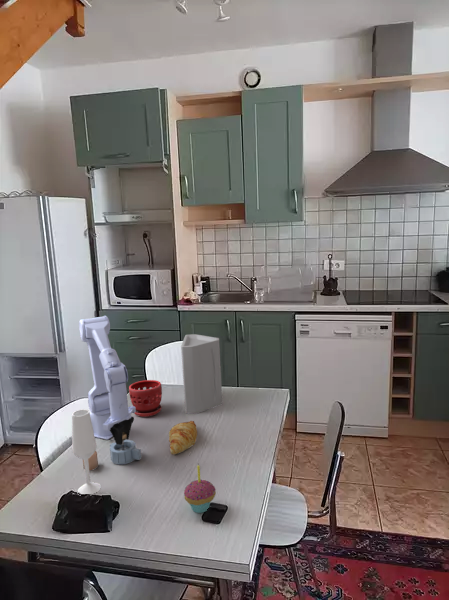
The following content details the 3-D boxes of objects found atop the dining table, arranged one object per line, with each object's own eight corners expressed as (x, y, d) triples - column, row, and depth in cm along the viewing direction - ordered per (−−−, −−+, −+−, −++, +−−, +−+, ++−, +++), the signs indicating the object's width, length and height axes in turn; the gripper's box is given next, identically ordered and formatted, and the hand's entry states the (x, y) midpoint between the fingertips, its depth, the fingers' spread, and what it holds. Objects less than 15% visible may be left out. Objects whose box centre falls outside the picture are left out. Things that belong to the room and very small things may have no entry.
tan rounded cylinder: (80, 469, 141) (78, 456, 140) (90, 461, 145) (88, 449, 144) (92, 471, 139) (90, 459, 138) (101, 463, 143) (99, 451, 142)
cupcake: (185, 499, 123) (182, 459, 120) (215, 496, 123) (213, 456, 121) (185, 519, 114) (182, 477, 112) (217, 516, 115) (215, 474, 113)
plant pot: (169, 409, 183) (167, 381, 181) (148, 421, 172) (146, 392, 170) (146, 403, 190) (144, 376, 188) (124, 415, 179) (121, 387, 177)
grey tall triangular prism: (222, 412, 177) (218, 345, 172) (185, 414, 177) (180, 347, 172) (222, 394, 196) (219, 333, 191) (189, 395, 196) (185, 334, 191)
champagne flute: (88, 498, 125) (79, 419, 121) (72, 491, 128) (63, 415, 124) (105, 486, 131) (97, 410, 126) (90, 480, 134) (82, 406, 130)
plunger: (113, 453, 144) (111, 436, 143) (122, 446, 149) (120, 430, 148) (124, 456, 143) (123, 438, 142) (133, 449, 147) (131, 432, 146)
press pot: (104, 461, 144) (103, 449, 144) (120, 449, 152) (119, 438, 151) (133, 467, 140) (131, 455, 139) (147, 455, 147) (146, 443, 146)
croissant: (182, 467, 145) (191, 449, 142) (155, 452, 146) (164, 434, 144) (199, 435, 165) (208, 419, 163) (176, 422, 166) (184, 406, 164)
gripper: (114, 413, 134) (118, 454, 137) (141, 395, 147) (145, 433, 150) (96, 410, 137) (100, 450, 140) (124, 393, 150) (128, 430, 153)
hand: (122, 441), depth 145 cm, fingers closed on plunger, 3 cm apart
